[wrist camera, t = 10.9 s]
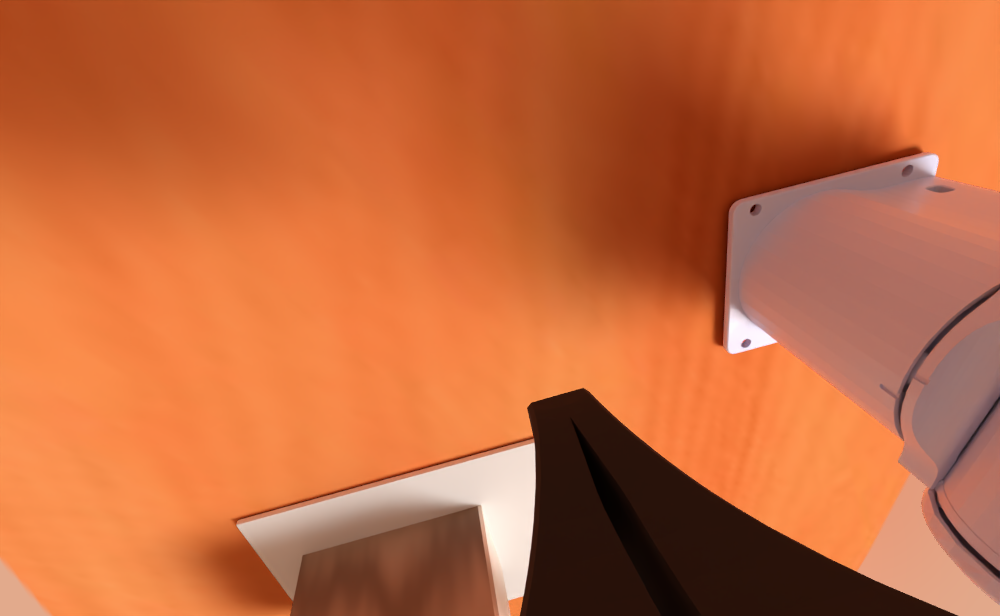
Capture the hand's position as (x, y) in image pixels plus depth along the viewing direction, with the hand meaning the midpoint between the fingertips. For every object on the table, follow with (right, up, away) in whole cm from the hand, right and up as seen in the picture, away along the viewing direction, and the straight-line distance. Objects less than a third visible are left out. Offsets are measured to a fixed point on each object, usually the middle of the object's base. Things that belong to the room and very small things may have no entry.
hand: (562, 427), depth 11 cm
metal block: (-1, -12, +14) cm, 19 cm away
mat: (-4, -11, +17) cm, 21 cm away
